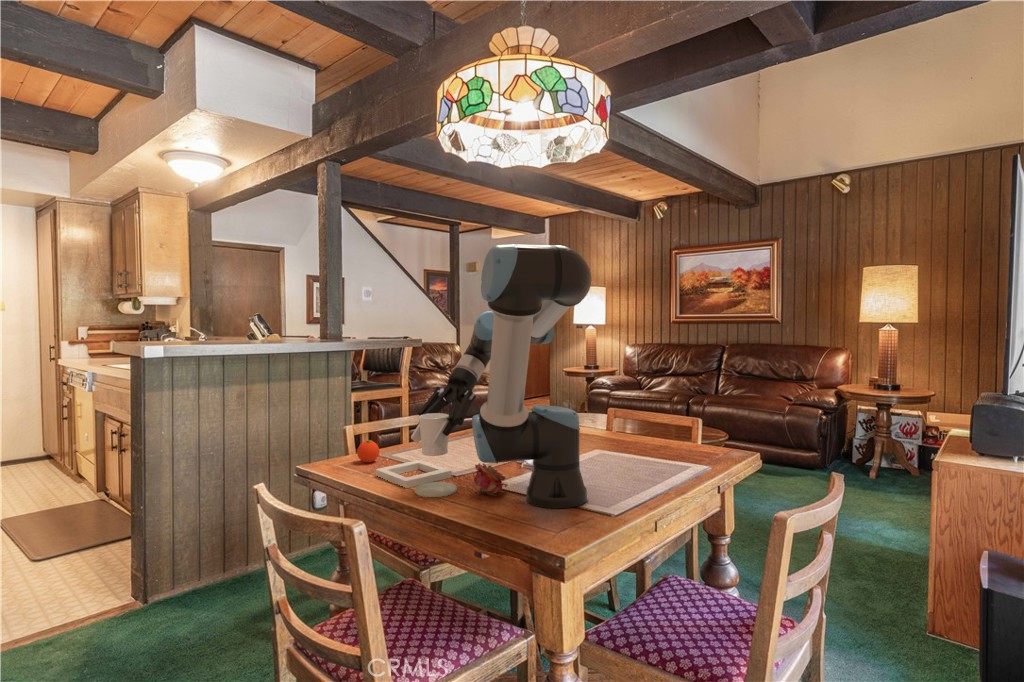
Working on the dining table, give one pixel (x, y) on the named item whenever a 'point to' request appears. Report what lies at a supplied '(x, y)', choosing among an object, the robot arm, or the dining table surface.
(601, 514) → the dining table surface
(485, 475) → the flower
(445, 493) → the coaster
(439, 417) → the white cup
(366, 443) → the clementine
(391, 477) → the board
